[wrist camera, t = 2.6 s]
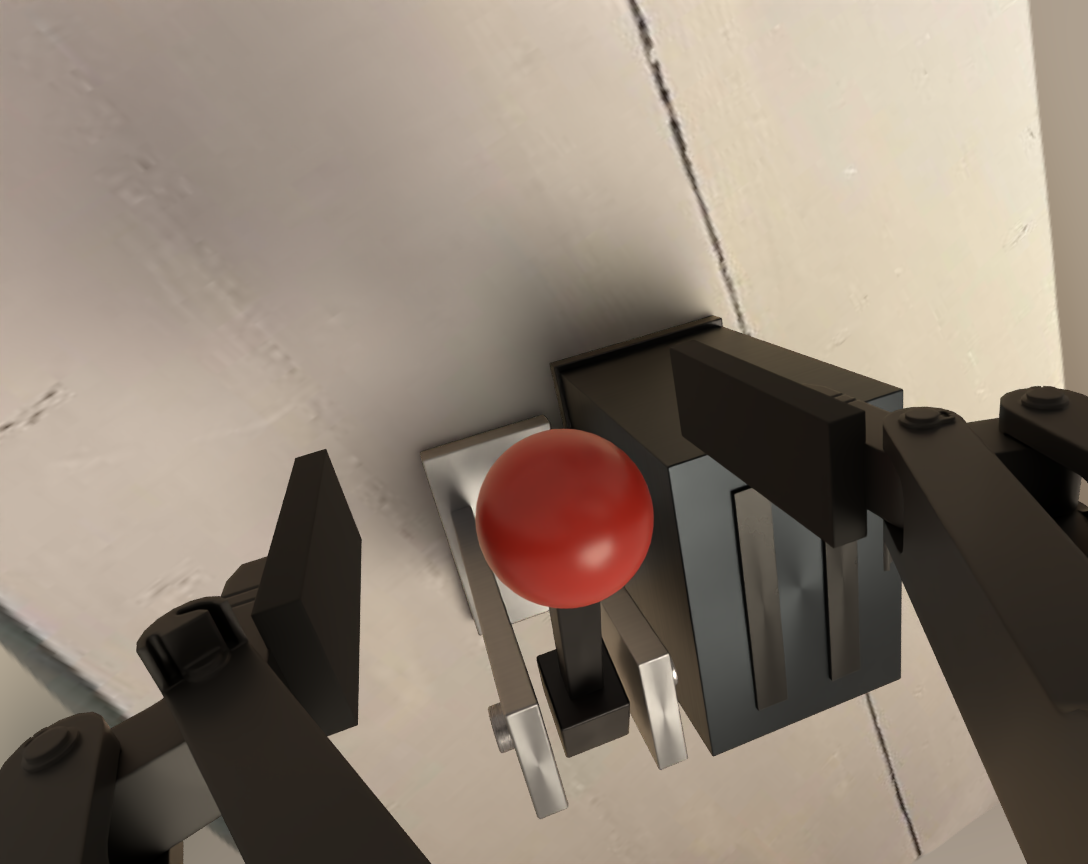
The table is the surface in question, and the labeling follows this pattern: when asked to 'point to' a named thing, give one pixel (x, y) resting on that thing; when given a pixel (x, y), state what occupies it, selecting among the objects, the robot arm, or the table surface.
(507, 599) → the bracket
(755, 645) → the toaster
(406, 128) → the table surface
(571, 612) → the lever
